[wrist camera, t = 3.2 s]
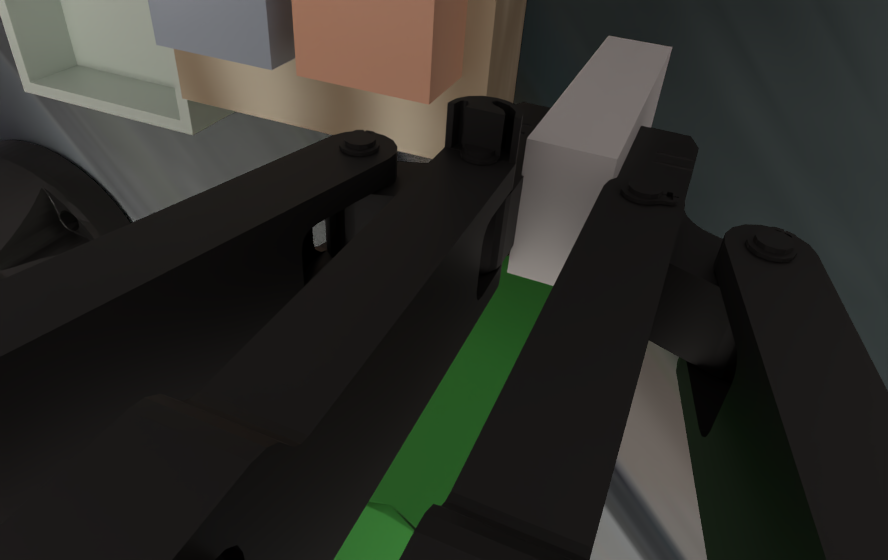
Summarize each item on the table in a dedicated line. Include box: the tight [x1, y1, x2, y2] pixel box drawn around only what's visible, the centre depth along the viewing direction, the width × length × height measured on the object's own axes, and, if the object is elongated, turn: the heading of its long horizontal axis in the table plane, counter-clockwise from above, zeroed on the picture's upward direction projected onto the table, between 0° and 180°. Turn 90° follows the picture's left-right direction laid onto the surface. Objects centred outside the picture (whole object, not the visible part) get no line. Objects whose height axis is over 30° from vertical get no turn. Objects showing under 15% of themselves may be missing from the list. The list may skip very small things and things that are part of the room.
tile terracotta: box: [291, 0, 468, 105], centre depth 22 cm, size 5×5×3 cm
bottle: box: [334, 256, 553, 560], centre depth 25 cm, size 9×9×25 cm
